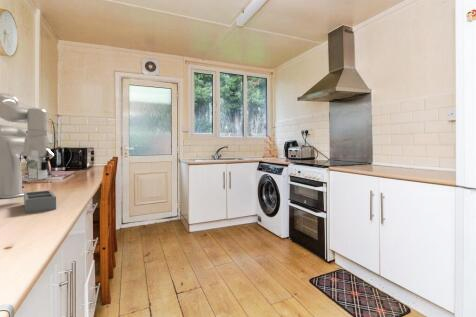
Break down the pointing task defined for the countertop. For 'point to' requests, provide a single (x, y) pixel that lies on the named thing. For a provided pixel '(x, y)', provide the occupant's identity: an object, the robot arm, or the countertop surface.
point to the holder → (39, 201)
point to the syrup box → (35, 167)
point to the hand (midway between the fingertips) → (37, 169)
